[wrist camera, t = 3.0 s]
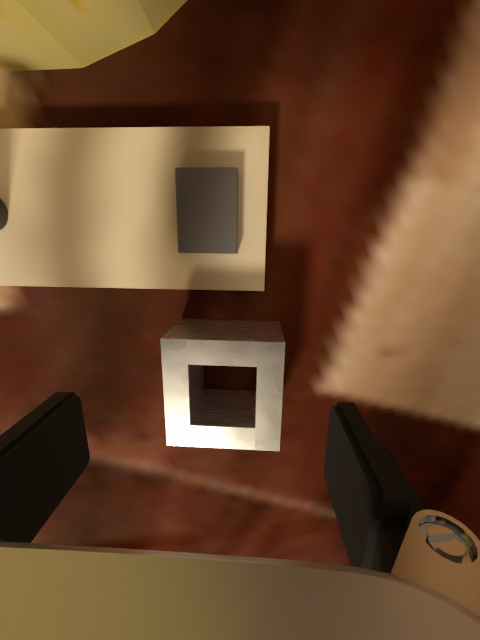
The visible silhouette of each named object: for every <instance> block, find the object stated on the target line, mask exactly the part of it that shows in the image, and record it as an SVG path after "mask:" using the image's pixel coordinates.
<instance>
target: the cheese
mask: <svg viewBox="0 0 480 640" xmlns="http://www.w3.org/2000/svg"><path fill="white" fill-rule="evenodd" d="M186 1H187V0H0V69H1V70H4V71H7V72H10V71H29V70H49V69H69V68H83V67H85V66H88V65H90V64H92V63H94V62H96V61H98V60H100V59H102V58H104V57H107V56H109V55H111V54H113V53H115V52H117V51H119V50H121V49H123V48H126V47H128V46H130V45H132V44H134V43H136V42H138V41H140V40H143V39H145V38H147V37H149V36H151V35H153V34H155V33H156V32H157V31H158V30H159V29H160V28H161V27H162V26H163V25H164V24H165V23H166V22H167V21H168V20H169V19H170V18H171V17H172V16H173V15H174V13H175V12H176V11H177V10H178V9H179V8H180V7H181V6H182V5H183V4H184V3H185V2H186Z"/></svg>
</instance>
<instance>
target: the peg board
mask: <svg viewBox="0 0 480 640" xmlns="http://www.w3.org/2000/svg"><path fill="white" fill-rule="evenodd" d="M269 134H270V126H215V127H114V128H14V129H0V285H1V286H49V287H96V288H144V289H191V290H239V291H264V284H265V254H266V224H267V194H268V164H269Z"/></svg>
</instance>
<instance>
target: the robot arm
mask: <svg viewBox="0 0 480 640" xmlns="http://www.w3.org/2000/svg"><path fill="white" fill-rule="evenodd" d="M89 457H90V456H89V449H88V443H87V437H86V431H85V424H84V418H83V412H82V406H81V400H80V398H79V397H78V396H76V394H75V393H74V392H56V393H54V394H53V395H52V396H51V397H49V398H48V399H47V400H45V401H44V402H43V403H42V404H40V405H39V406H38V407H36V408H35V409H34V410H33V411H31V412H30V413H29V414H28V415H26V416H25V417H24V418H22V419H21V420H20V421H19V422H17V423H16V424H15V425H13V426H12V427H11V428H10V429H8V430H7V431H6V432H4V433H3V434H2V435H1V436H0V640H480V540H479V539H478V538H477V537H476V536H475V534H474V533H473V532H472V531H471V530H470V529H468V528H467V527H466V526H465V525H464V524H463V523H461V522H460V521H458V520H456V519H455V518H453V517H451V516H449V515H447V514H445V513H442V512H439V511H435V510H426V509H425V508H424V506H423V505H422V503H421V501H420V500H419V498H418V497H417V495H416V493H415V492H414V490H413V489H412V487H411V485H410V484H409V482H408V481H407V479H406V477H405V476H404V474H403V473H402V471H401V469H400V468H399V466H398V465H397V463H396V461H395V460H394V458H393V457H392V455H391V453H390V452H389V450H388V449H387V447H386V446H385V444H384V443H382V442H377V440H376V438H375V437H374V435H373V433H372V432H371V430H370V428H369V427H368V425H367V423H366V422H365V420H364V418H363V417H362V415H361V413H360V412H359V410H358V408H357V406H356V405H355V404H354V403H350V402H337V404H336V406H332V407H331V411H330V420H329V429H328V438H327V447H326V456H325V464H324V474H325V479H326V482H327V486H328V489H329V493H330V496H331V500H332V503H333V506H334V510H335V513H336V517H337V520H338V524H339V527H340V531H341V534H342V538H343V541H344V544H345V548H346V551H347V555H348V558H349V562H350V565H351V566H346V565H339V564H330V563H319V562H307V561H296V560H285V559H273V558H258V557H244V556H229V555H215V554H200V553H185V552H170V551H154V550H138V549H122V548H106V547H89V546H72V545H54V544H36V543H31V541H32V540H33V539H34V537H35V536H36V535H37V533H38V532H39V530H40V529H41V528H42V526H43V525H44V524H45V522H46V521H47V520H48V518H49V517H50V515H51V514H52V513H53V511H54V510H55V509H56V507H57V506H58V505H59V503H60V502H61V500H62V499H63V498H64V496H65V495H66V494H67V492H68V491H69V490H70V488H71V487H72V486H73V484H74V483H75V481H76V480H77V479H78V477H79V476H80V475H81V473H82V472H83V471H84V469H85V468H86V466H87V465H88V462H89Z"/></svg>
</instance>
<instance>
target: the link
mask: <svg viewBox="0 0 480 640" xmlns="http://www.w3.org/2000/svg"><path fill="white" fill-rule="evenodd" d="M160 340H161V357H162V373H163V390H164V407H165V424H166V441H167V445H168V446H188V447H207V448H227V449H246V450H266V451H280V433H281V415H282V396H283V378H284V359H285V339H284V336H283V332H282V329H281V325H280V322H279V321H254V320H217V319H181V320H180V321H178V322H177V323H176V324H175V325H174V326H173V327H172V328H171V329H170V330H169V331H168V332H167V333H166V334H165V335H164V336H163V337H162V338H161V339H160ZM203 365H213V366H242V367H256V391H251V390H226V389H204V371H203Z"/></svg>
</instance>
